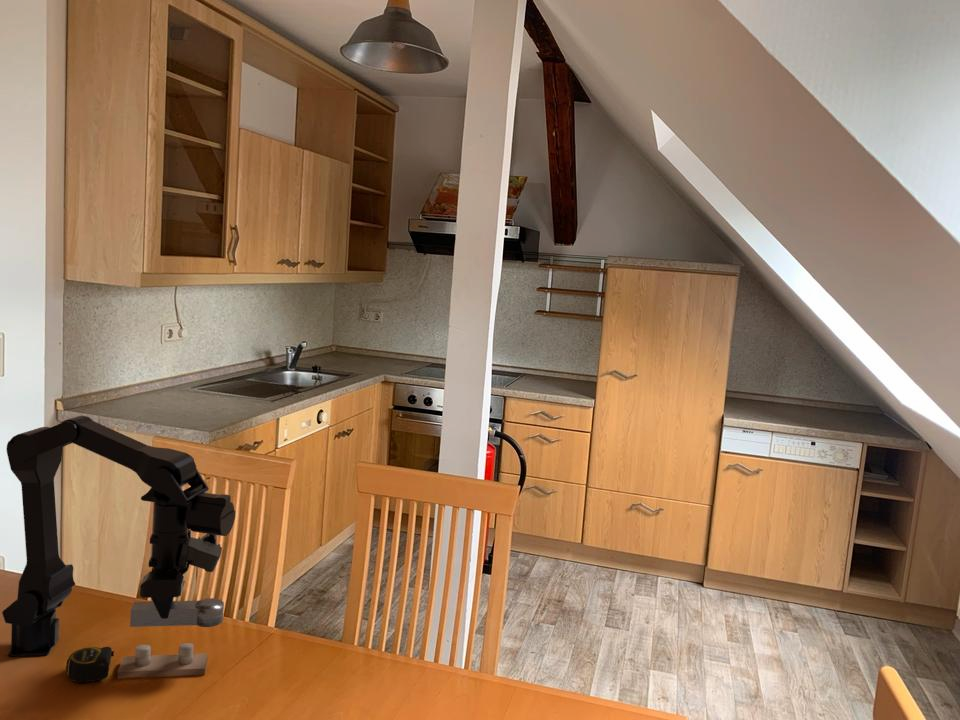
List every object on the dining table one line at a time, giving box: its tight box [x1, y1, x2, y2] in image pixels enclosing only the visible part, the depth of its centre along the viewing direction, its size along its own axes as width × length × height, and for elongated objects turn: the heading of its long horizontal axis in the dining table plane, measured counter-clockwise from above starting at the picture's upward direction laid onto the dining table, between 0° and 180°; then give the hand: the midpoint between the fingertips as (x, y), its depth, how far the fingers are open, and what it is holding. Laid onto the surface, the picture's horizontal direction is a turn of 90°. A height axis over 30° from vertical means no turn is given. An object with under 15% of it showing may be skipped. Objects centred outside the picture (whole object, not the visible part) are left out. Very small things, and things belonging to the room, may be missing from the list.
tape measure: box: [65, 646, 115, 683], centre depth 130 cm, size 7×7×4 cm
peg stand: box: [117, 642, 209, 679], centre depth 134 cm, size 14×5×4 cm, turn 105°
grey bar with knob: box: [129, 597, 225, 628], centre depth 133 cm, size 15×5×3 cm, turn 105°
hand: (166, 613), depth 133 cm, fingers closed on grey bar with knob, 3 cm apart
